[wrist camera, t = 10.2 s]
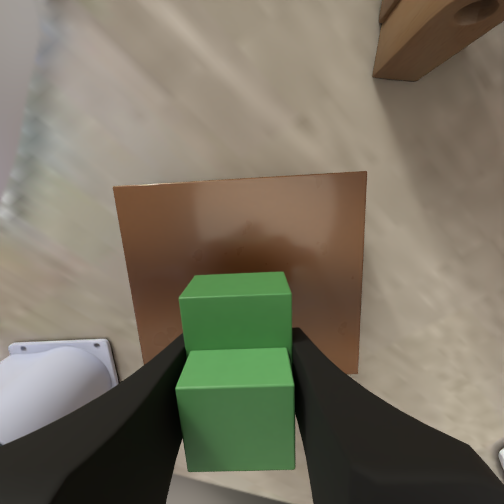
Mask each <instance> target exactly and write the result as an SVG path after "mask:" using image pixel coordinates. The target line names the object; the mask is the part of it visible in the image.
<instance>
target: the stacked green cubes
mask: <svg viewBox="0 0 504 504" xmlns="http://www.w3.org/2000/svg"><path fill="white" fill-rule="evenodd" d="M179 306H180V314H181V321H182V328H183V336H184V343H185V351H186V358H187V361H186V363H185V366H184V368H183V370H182V373H181V375H180V378H179V380H178V383H177V385H176V388H175V391H176V397H177V404H178V410H179V417H180V423H181V430H182V436H183V443H184V449H185V456H186V462H187V469H188V472H215V471H261V470H294V469H295V383H294V379H293V353H292V293H291V290H290V287H289V285H288V282H287V279H286V276H285V274H284V272H260V273H237V274H213V275H195V276H194V277H193V279H192V280H191V282H190V283H189V284H188V286H187V287H186V288H185V290H184V291H183V292H182V294H181V295H180V297H179Z"/></svg>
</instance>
